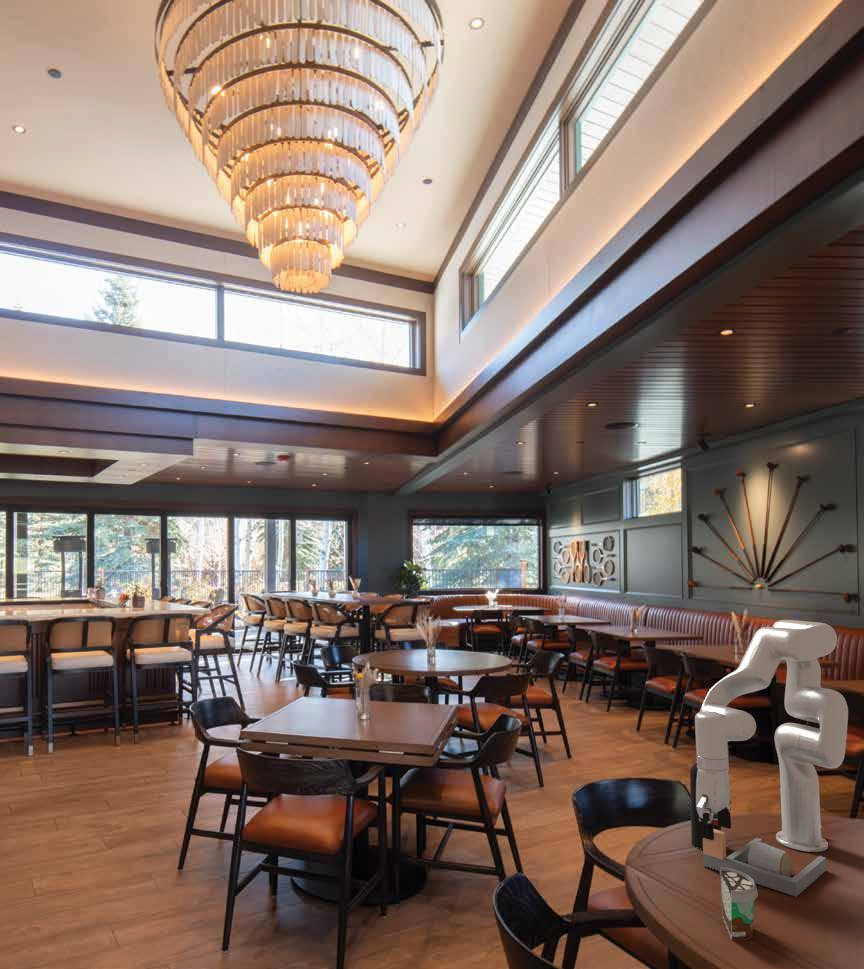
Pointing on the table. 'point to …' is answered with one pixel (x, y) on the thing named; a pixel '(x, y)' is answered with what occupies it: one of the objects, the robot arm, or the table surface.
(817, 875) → the pull frame
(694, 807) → the wine bottle
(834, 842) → the table surface
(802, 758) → the robot arm
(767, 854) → the ceramic mug
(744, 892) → the food container
